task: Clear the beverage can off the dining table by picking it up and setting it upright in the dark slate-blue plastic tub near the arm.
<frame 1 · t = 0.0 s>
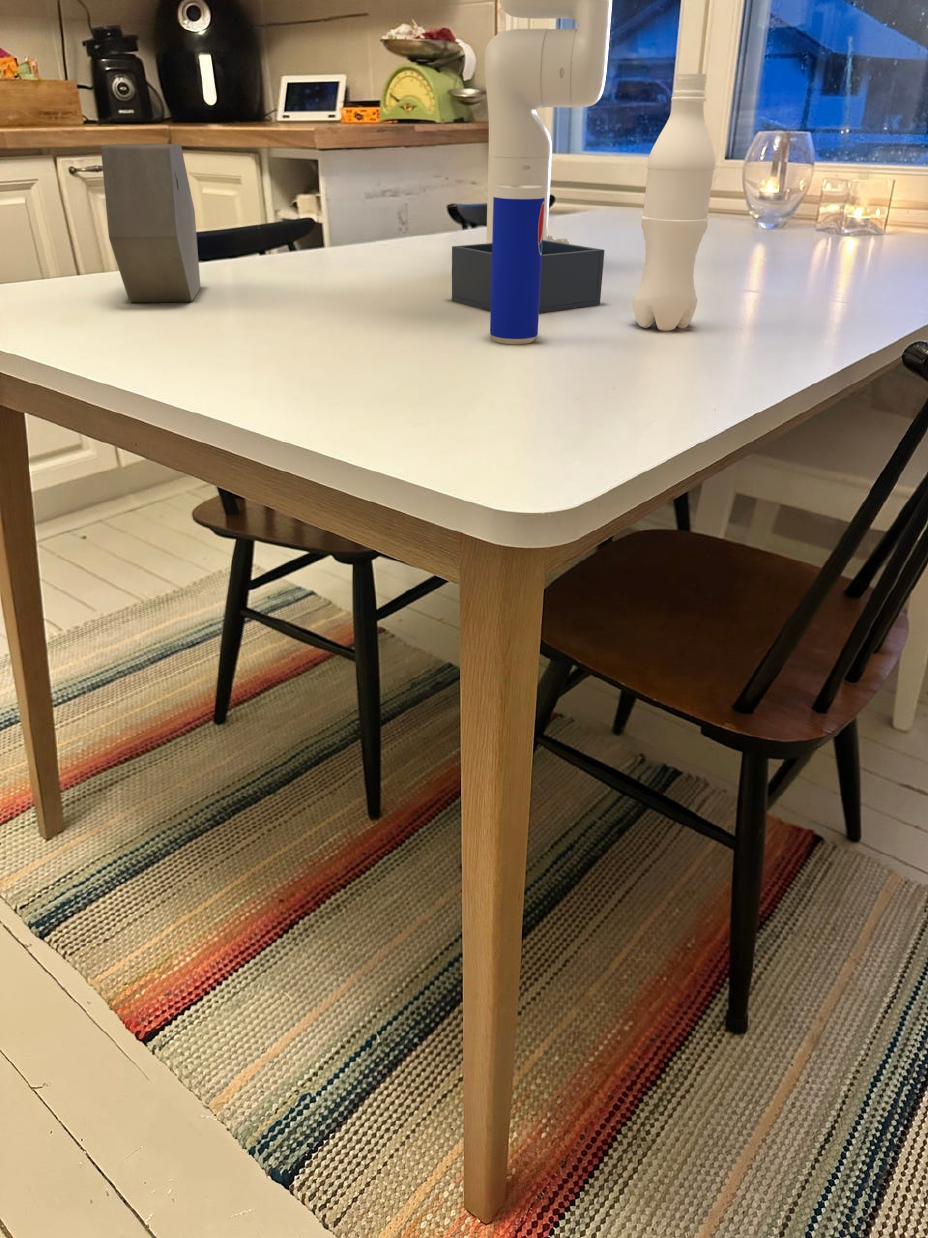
tub: (525, 302, 115), on the table
water bottle: (661, 327, 103), on the table
beverage can: (513, 341, 96), on the table
planter: (166, 297, 116), on the table
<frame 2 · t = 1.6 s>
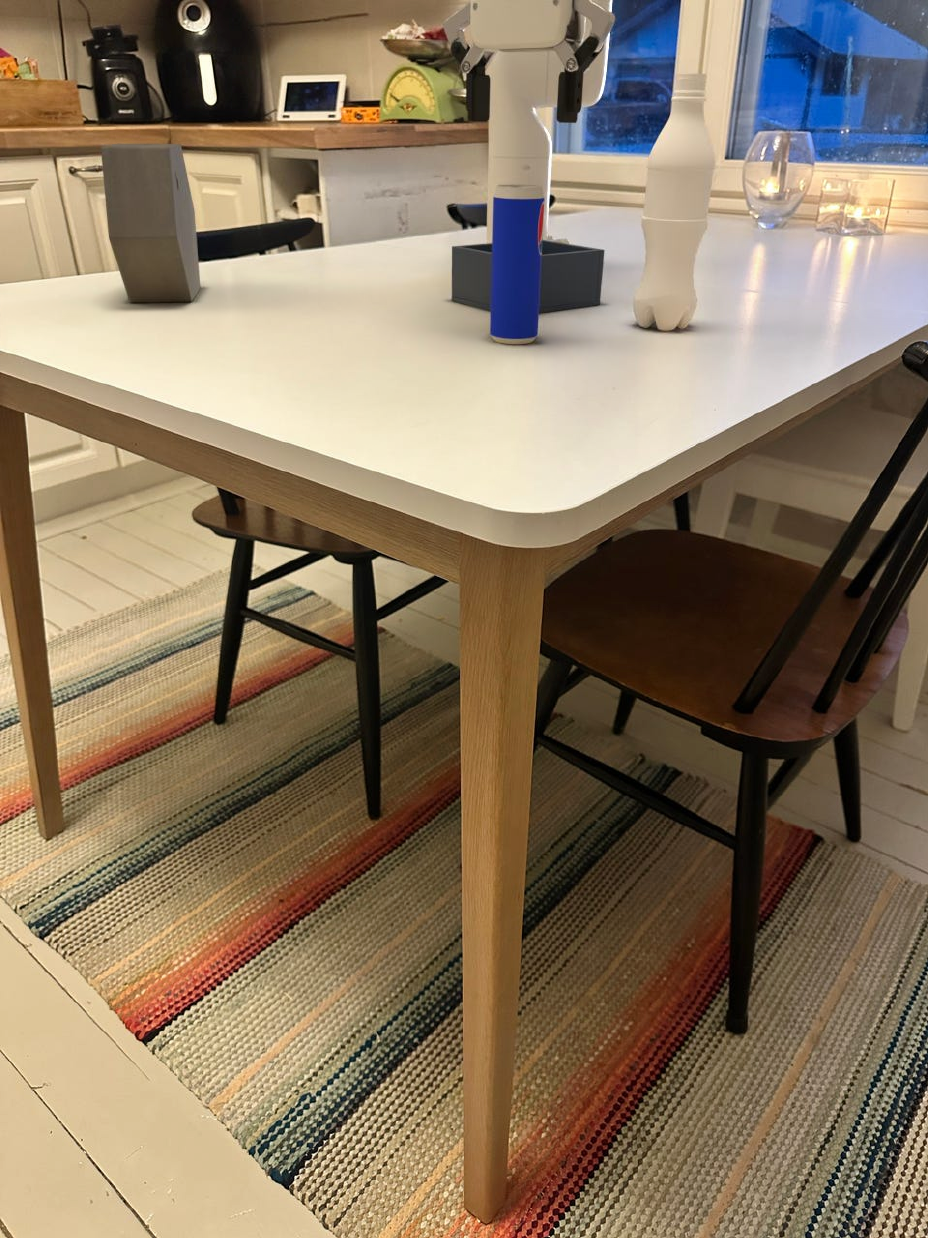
hand: (521, 121, 85), 21 cm above the table, tool pointing down, fingers open, 9 cm apart
nothing on the table moved.
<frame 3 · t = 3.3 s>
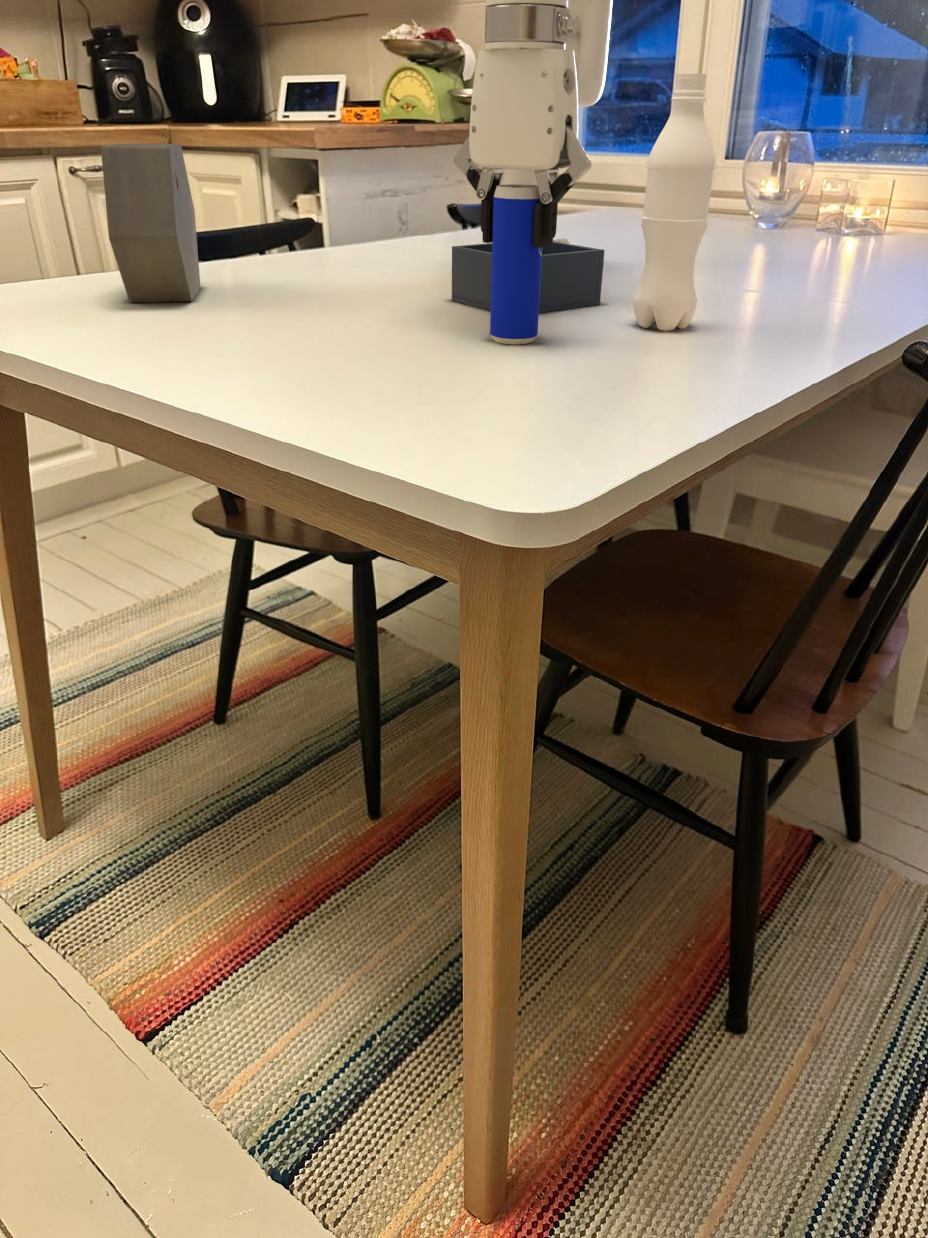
hand: (517, 241, 91), 10 cm above the table, tool pointing down, fingers closed on beverage can, 5 cm apart
beverage can: (513, 341, 96), on the table, touching gripper
everything else where it was.
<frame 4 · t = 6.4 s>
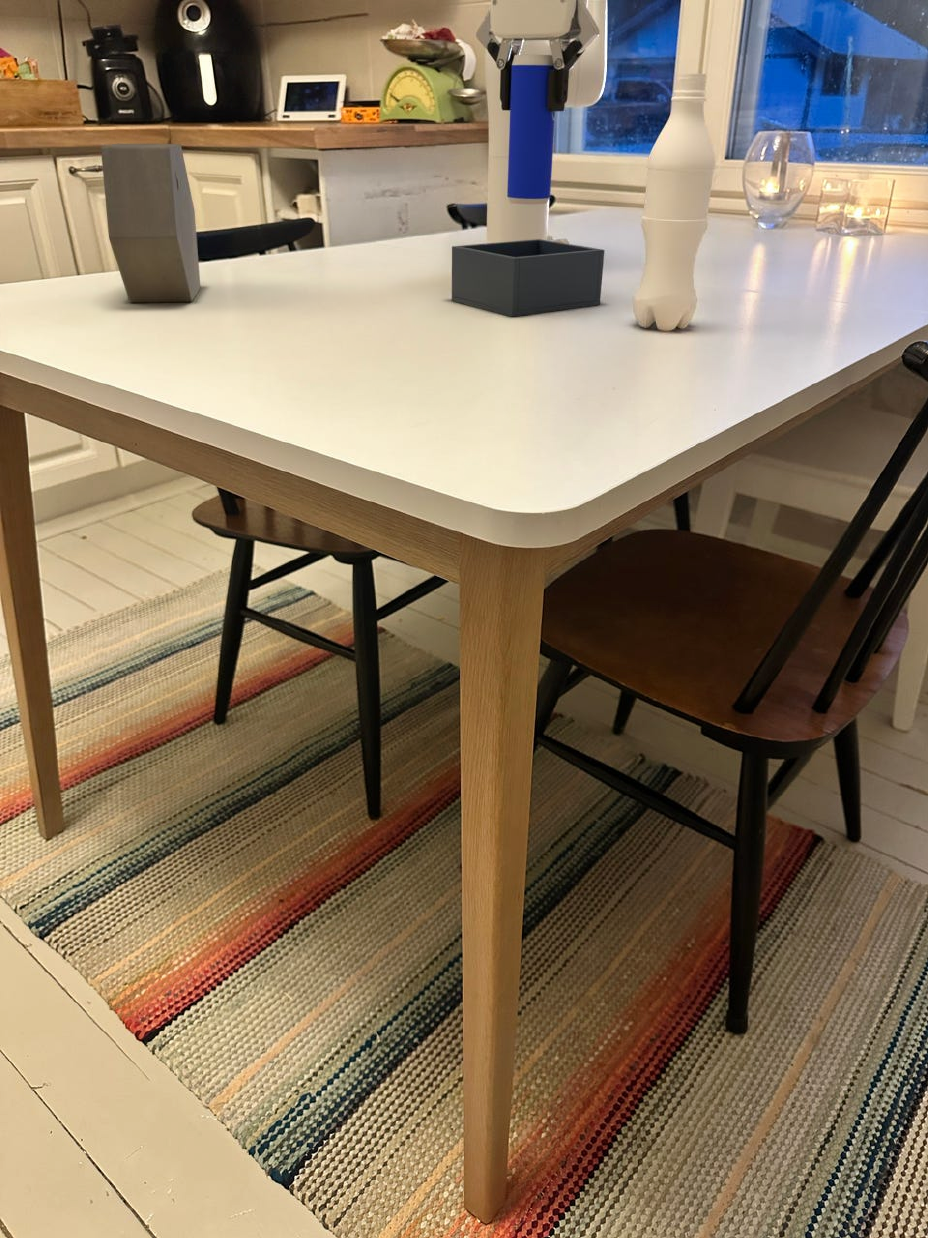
hand: (532, 108, 102), 22 cm above the table, tool pointing down, fingers closed on beverage can, 5 cm apart
beverage can: (528, 204, 107), point 12 cm above the table, touching gripper
everything else where it was.
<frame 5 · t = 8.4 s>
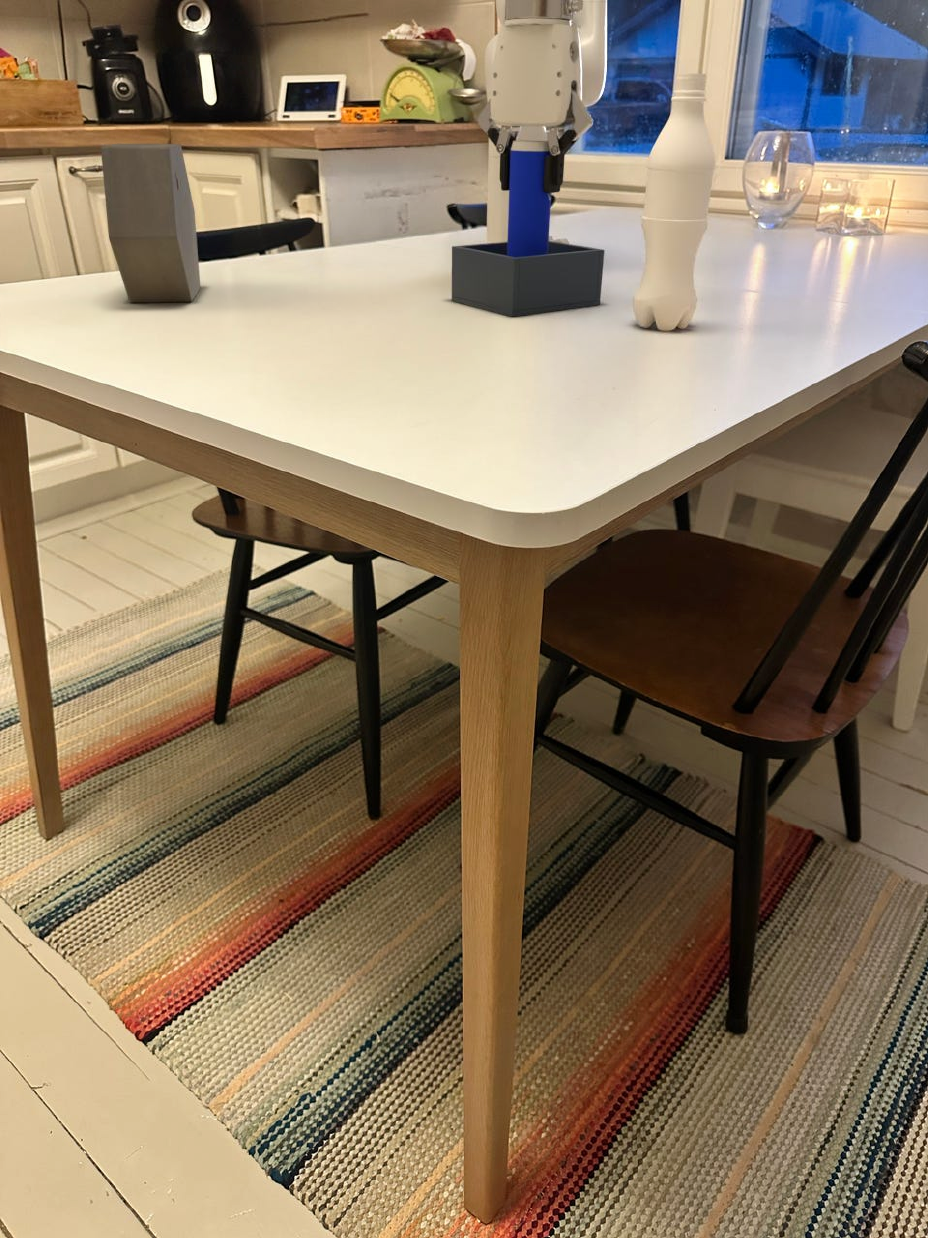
hand: (530, 189, 108), 13 cm above the table, tool pointing down, fingers closed on beverage can, 5 cm apart
beverage can: (526, 276, 113), point 3 cm above the table, touching gripper
everything else where it was.
when the fingers open (10 cm above the table, at t = 9.6 s): beverage can stays where it is, resting on tub.
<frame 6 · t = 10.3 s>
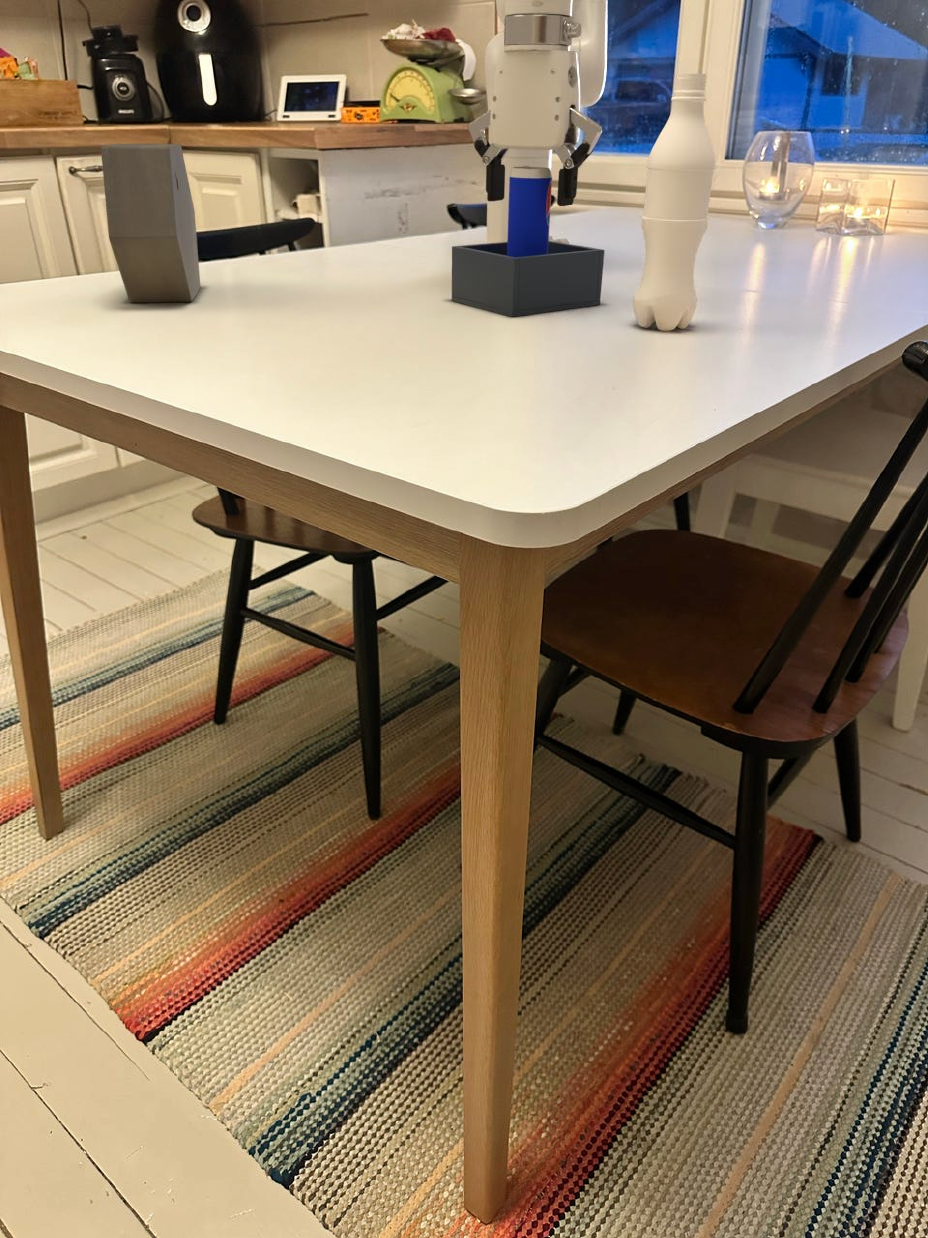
hand: (529, 202, 109), 12 cm above the table, tool pointing down, fingers open, 9 cm apart
beverage can: (525, 299, 115), resting on tub
everything else where it was.
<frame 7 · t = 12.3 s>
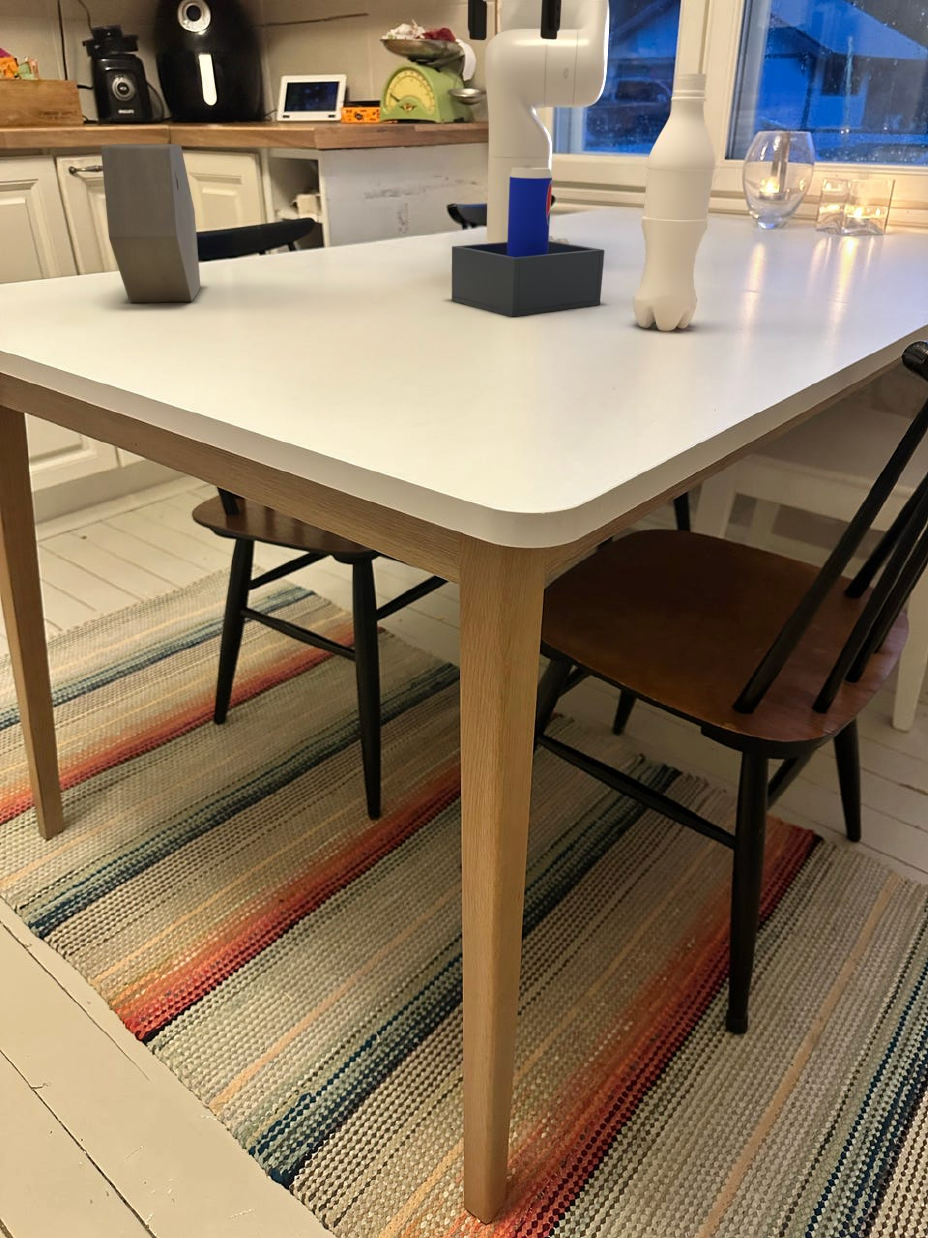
hand: (512, 39, 107), 29 cm above the table, tool pointing down, fingers open, 9 cm apart
nothing on the table moved.
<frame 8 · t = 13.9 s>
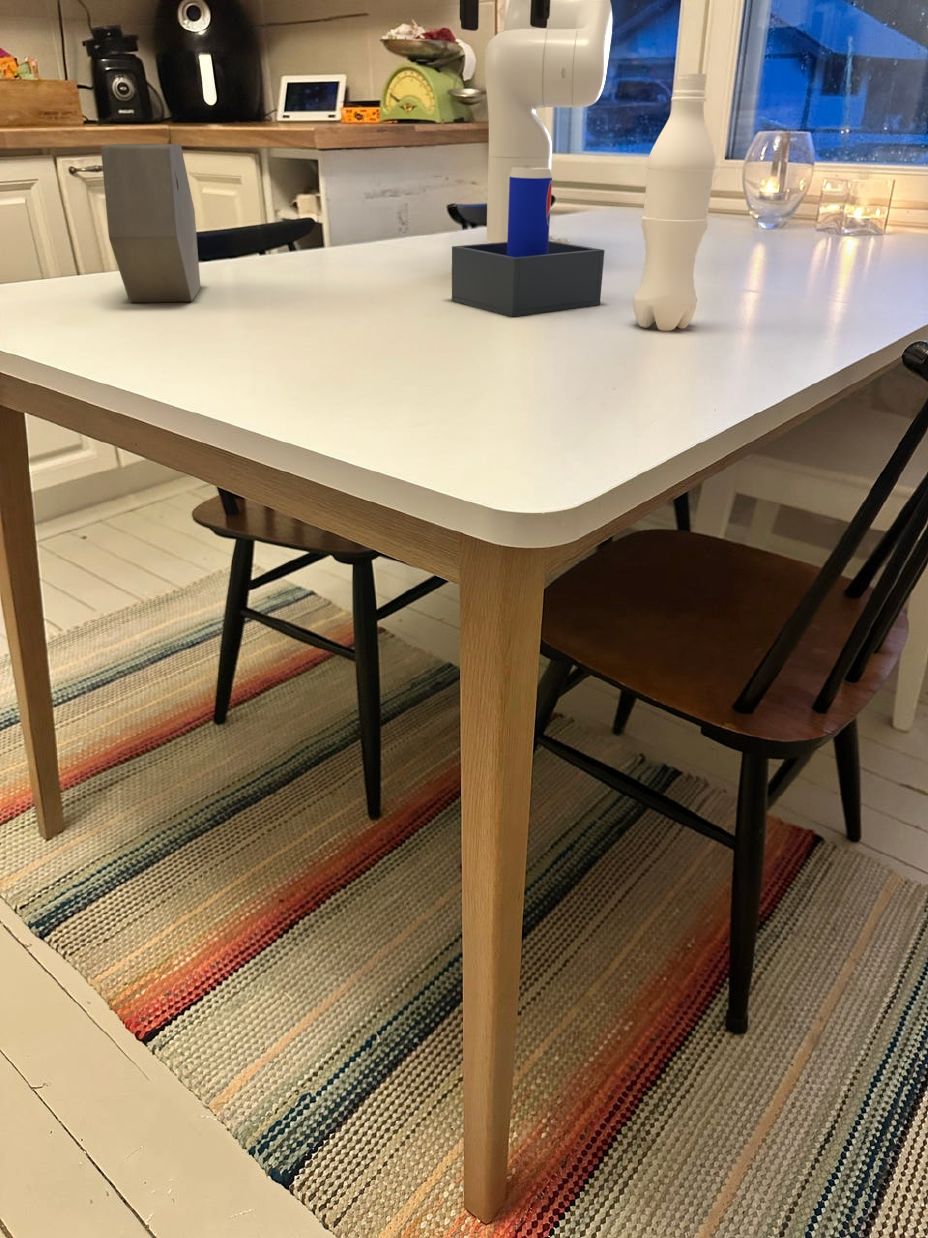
hand: (503, 28, 108), 30 cm above the table, tool pointing down, fingers open, 9 cm apart
nothing on the table moved.
at the end: beverage can inside the target area in the tub (0.0 cm from its centre), point 0.4 cm above the tub's base; beverage can tilted 0°; the gripper is holding nothing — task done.
